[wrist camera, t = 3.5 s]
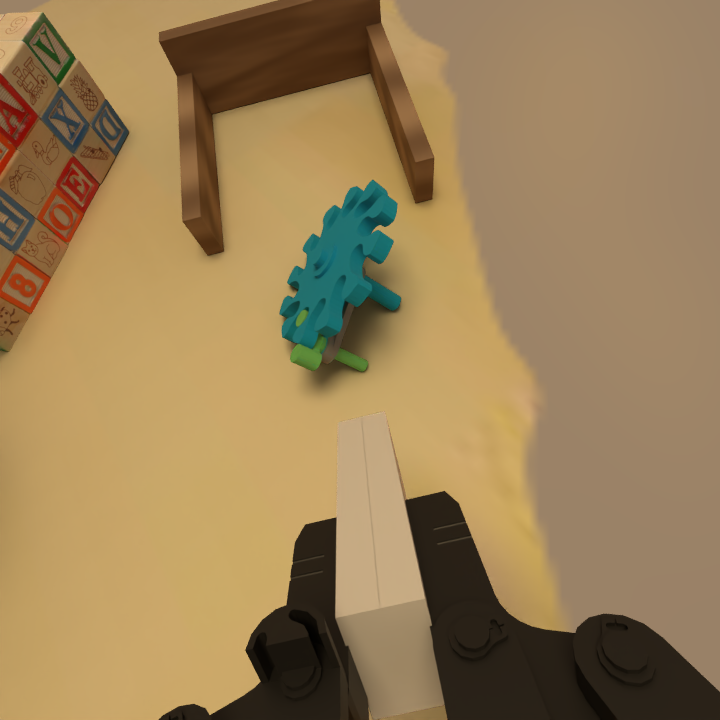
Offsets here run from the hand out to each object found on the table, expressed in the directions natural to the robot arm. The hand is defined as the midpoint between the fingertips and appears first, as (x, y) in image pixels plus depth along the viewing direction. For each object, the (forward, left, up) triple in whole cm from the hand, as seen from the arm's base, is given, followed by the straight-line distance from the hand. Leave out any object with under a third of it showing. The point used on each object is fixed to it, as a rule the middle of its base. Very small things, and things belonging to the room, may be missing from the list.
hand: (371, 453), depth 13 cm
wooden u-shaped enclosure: (-10, +24, -10) cm, 28 cm away
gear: (-5, +11, -10) cm, 15 cm away
